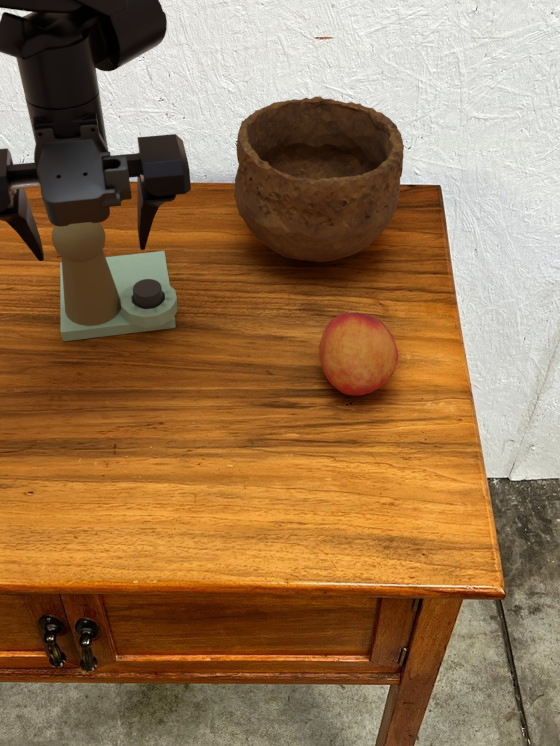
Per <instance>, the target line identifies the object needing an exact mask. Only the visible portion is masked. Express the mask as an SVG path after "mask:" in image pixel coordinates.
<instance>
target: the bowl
mask: <svg viewBox="0 0 560 746" xmlns="http://www.w3.org/2000/svg"><path fill="white" fill-rule="evenodd" d="M236 139H237V141H236V158H237V163H238V167H237V169H236V174H235V177H234V194H233V195H234V200H235V205H236V209H237V213H238V215H239V216H240V217H241V219H242V220H243V222H244V223H245V224H246V226H247V228H248V229H249V231H250V232H251V233H252V234H253V235H254V236H255V238H256V239H258V241H260V242H261V243H263V244H264V245H265V246H266V247H267V248H268V249H270V250H271V251H273V252H275V253H276V254H278V255H280V256H282V257H284V258H286V259H290V260H299V261H306V262H307V261H308V262H316V263H326V262H332V261H338V260H342V259H344V258H346V257H350V256H353V255H356V254H357V253H360V252H362V251H363V250H365V249H366V248H368V247H369V246H370V245H371V244H373V243H374V241H376V239H378V238H379V237H380V235H381V234H382V233H383V232H384V230H385V229H386V228H387V227H388V226H389V225H390V223H391V221H392V220H393V218H394V216H395V213H396V211H397V208H398V205H399V200H400V197H401V178H402V175H403V169H404V168H403V167H404V149H405V144H404V140H403V136H402V132H400V130H399V128H398V126H397V124H396V123H395V122H394V121H393V120H391V118H390V117H389V116H387V115H385V114H384V113H383V112H381V111H377V110H376V109H375V108H373V107H367V106H365V105H363V104H362V103H359V102H358V103H355V102H353V101H349V102H345V101H340V100H335V99H332V98H323V97H322V96H320V95H319V96H314V97H311V98H308V97H305V98H304V97H303V98H302V99H298V98H297V99H295V98H293V99H291V100H290V99H286V100H284V101H281V100H280V101H277V102H276V101H274V102H272V103H270V104H269V105H267V106H264V107H262V108H260V109H256V110H255V111H254V112H252V114H249V115H248V116H247V117H246V118H244V120H241V123H240V127H239V129H238V133H237V138H236Z"/></svg>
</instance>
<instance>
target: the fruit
mask: <svg viewBox="0 0 560 746" xmlns="http://www.w3.org/2000/svg"><path fill="white" fill-rule="evenodd" d="M318 358H319V364H320V367H321V370H322V372H323V374H324V376H325V378H326V379H327V381H328V382H329V383H330V384H331V385H332V386H333V387H334V388H335V389H336V390H337V391H339V392H340V393H342V394H344V395H347V396H364V395H367V394H370V393H372V392H374V391H376V390H377V389H379V388H381V387H382V386H383V385H384V384H386V382H388V381H389V380H390V379H391V377H392V376H393V374H394V373H395V370H396V368H397V365H398V361H399V350H398V346H397V343H396V341H395V338H394V335H393V334H392V333H391V331H390V329H389V328H388V327H387V326H386V324H384V323H383V321H381V320H379V319H378V318H375V317H374V316H372V315H367V314H364V313H360V312H343V313H341V314H339V315H336V316H335V317H333V318H332V319H331V320H330V321H329V322H328V324H327V325H326V326H325V328H324V330H323V333H322V336H321V338H320V341H319V345H318Z"/></svg>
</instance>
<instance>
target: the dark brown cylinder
mask: <svg viewBox="0 0 560 746" xmlns="http://www.w3.org/2000/svg"><path fill="white" fill-rule="evenodd" d="M133 295H134V301H135V304H136V305H137V306H138V307H139V308H142V309H152V308H156V307H157V306H159V305H160V304H161V303H162V301H163V296H162V288H161V284H160V283H159V282H158V281H156V280H153V279H143V280H140V281H138V282H137V283H135V285H134V286H133Z"/></svg>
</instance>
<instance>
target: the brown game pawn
mask: <svg viewBox="0 0 560 746" xmlns="http://www.w3.org/2000/svg"><path fill="white" fill-rule="evenodd" d="M51 243H52V246H53V247H54V250H55V251H56V253H57V254H58V255H59V256H60V260H61V262H62V275H63V289H64V303H65V313H66V315H67V317H68V318H69V319H70V320H71V321H72V322H74V323H76V324H79V325H84V326H95V325H100V324H103V323H106V322H108V321H110V320H112V319H113V318H114V317H115V316H117V315H118V313H119V312H120V310H121V301H120V297H119V294H118V291H117V288H116V286H115V283H114V280H113V277H112V274H111V272H110V269H109V266H108V263H107V260H106V258H105V257H106V255H105V251H104V250H103V249H104V248H105V245H106V231H105V229H104V227H103V225H102V222H100V223H92V222H86V223H77V224H69V225H68V226H61V227H60V226H55V225H53V227H52V231H51Z"/></svg>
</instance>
